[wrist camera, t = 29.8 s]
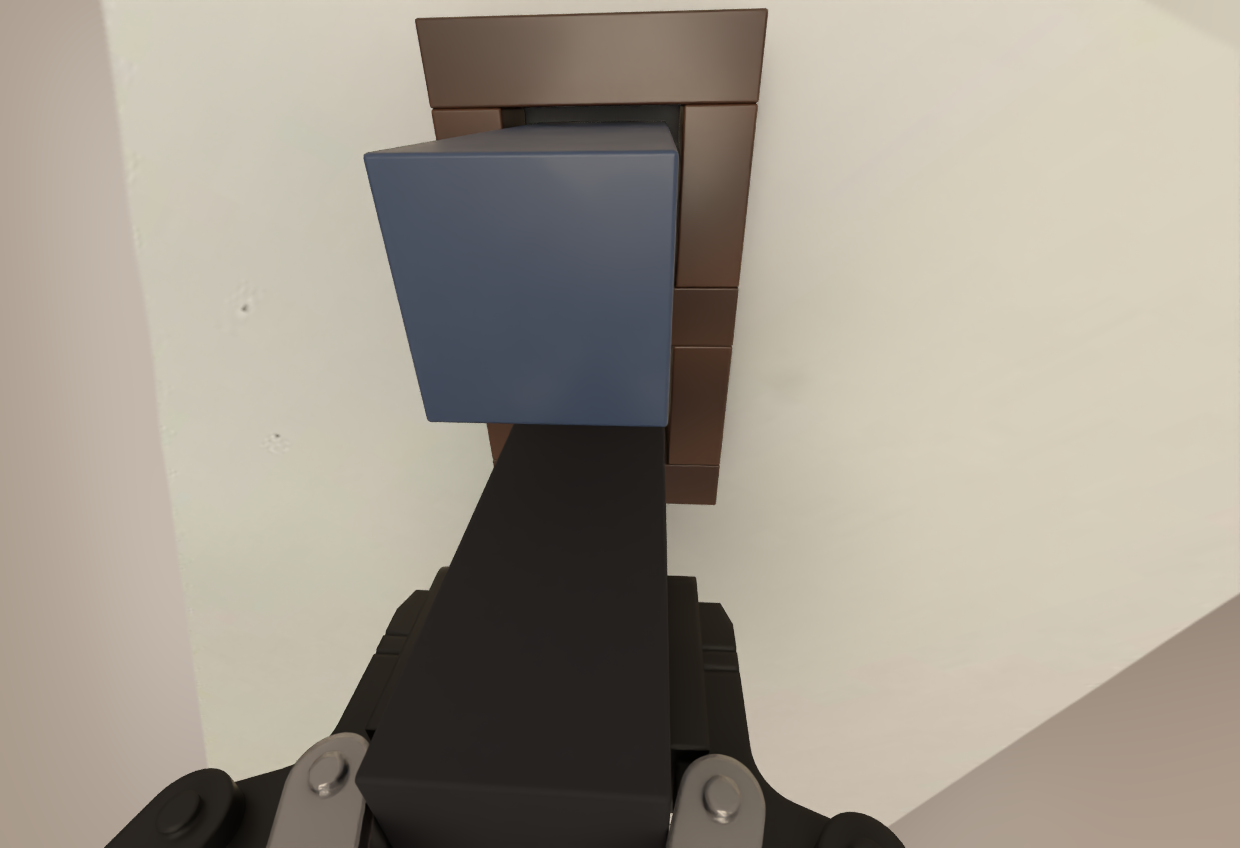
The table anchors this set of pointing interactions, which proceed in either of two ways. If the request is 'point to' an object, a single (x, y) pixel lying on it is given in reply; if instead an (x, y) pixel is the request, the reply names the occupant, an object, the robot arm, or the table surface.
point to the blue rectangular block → (536, 270)
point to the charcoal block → (541, 660)
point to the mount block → (707, 175)
